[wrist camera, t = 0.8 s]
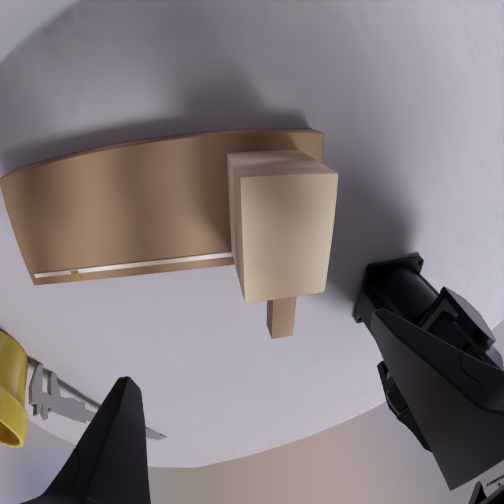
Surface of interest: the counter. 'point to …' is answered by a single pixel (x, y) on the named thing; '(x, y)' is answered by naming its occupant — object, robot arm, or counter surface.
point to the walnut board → (135, 204)
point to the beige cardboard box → (280, 228)
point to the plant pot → (12, 392)
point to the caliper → (64, 403)
